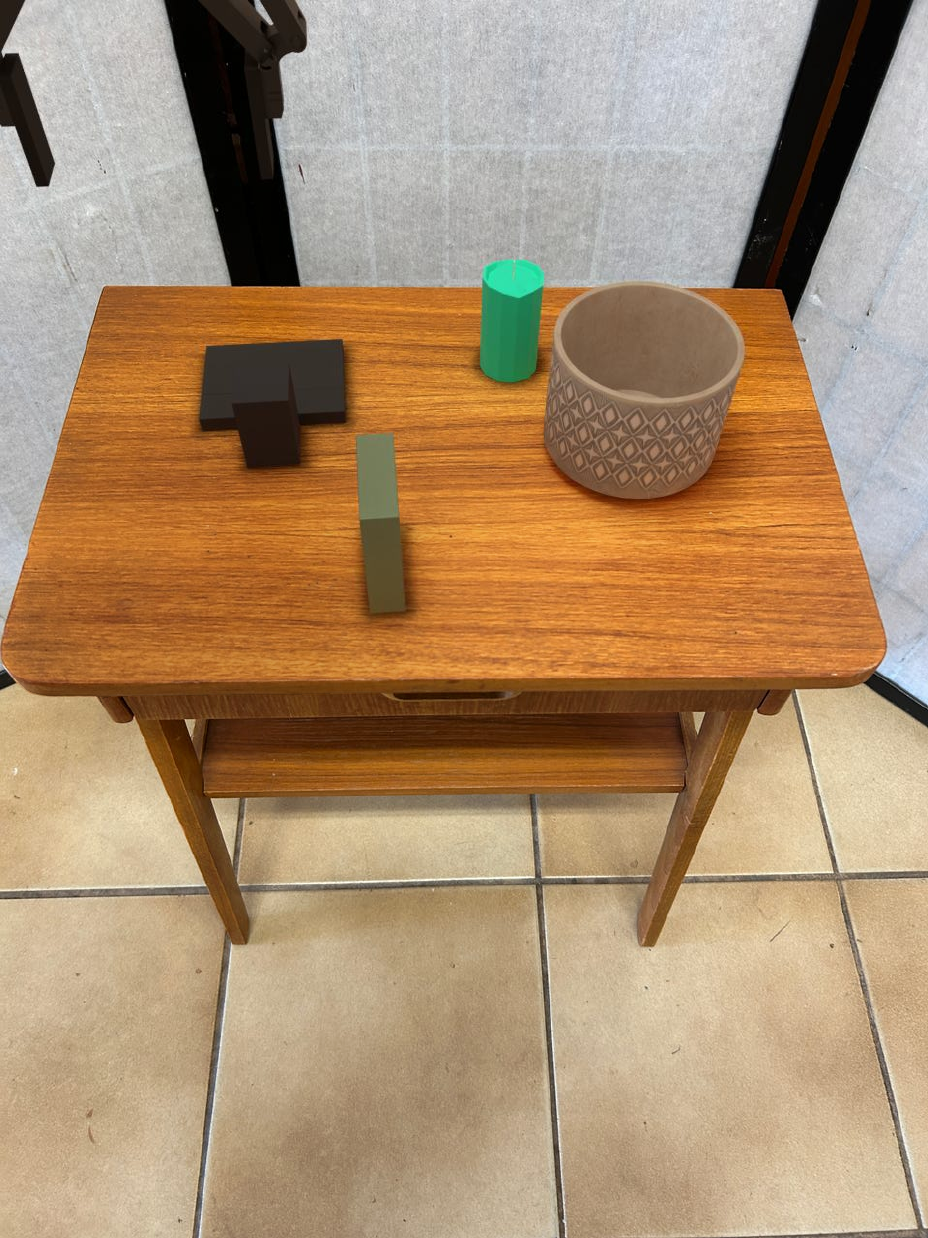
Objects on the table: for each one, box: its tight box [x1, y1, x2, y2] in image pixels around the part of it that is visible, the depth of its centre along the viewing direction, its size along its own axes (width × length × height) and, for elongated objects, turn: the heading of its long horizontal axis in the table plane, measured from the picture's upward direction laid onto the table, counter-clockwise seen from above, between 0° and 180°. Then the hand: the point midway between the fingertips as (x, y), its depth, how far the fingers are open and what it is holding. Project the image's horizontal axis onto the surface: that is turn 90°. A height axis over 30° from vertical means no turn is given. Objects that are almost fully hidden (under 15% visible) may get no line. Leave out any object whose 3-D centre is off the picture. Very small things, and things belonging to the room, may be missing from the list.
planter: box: [542, 280, 746, 500], centre depth 87 cm, size 16×16×13 cm
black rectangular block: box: [231, 363, 301, 469], centre depth 89 cm, size 5×8×8 cm, turn 5°
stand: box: [355, 432, 407, 615], centre depth 78 cm, size 3×9×12 cm, turn 5°
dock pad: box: [198, 338, 347, 431], centre depth 96 cm, size 14×11×2 cm
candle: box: [479, 258, 545, 384], centre depth 94 cm, size 6×6×12 cm
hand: (157, 171), depth 60 cm, fingers open, 13 cm apart
